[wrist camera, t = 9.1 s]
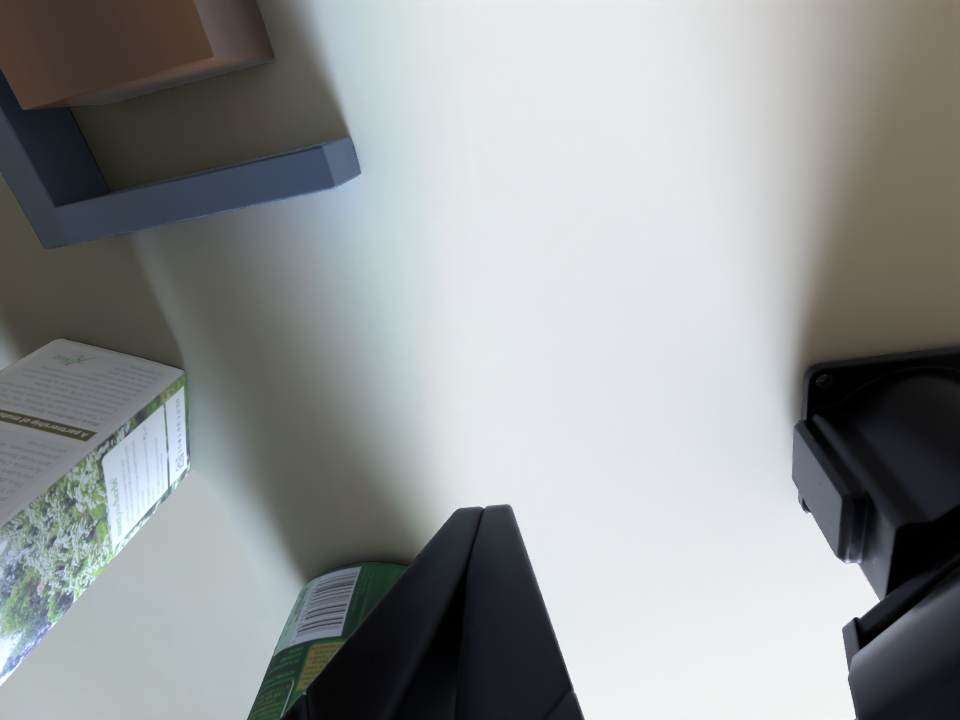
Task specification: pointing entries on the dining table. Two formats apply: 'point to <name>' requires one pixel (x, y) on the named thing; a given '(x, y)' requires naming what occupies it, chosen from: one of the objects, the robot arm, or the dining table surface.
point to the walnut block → (123, 47)
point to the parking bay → (99, 213)
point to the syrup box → (78, 475)
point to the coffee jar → (320, 630)
